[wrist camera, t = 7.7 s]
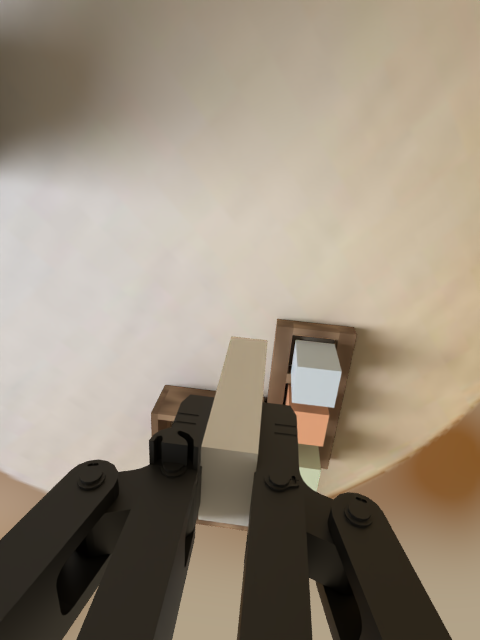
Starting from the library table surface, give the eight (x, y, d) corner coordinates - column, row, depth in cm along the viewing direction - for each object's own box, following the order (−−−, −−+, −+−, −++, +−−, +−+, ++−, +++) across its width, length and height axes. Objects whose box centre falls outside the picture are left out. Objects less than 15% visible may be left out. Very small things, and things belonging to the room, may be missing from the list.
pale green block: (278, 456, 52) (277, 493, 46) (282, 430, 50) (282, 464, 45) (311, 460, 52) (315, 498, 46) (316, 434, 50) (321, 469, 44)
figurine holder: (165, 483, 59) (153, 517, 54) (165, 385, 52) (151, 413, 46) (252, 495, 58) (249, 531, 53) (264, 397, 51) (262, 427, 46)
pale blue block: (290, 372, 46) (291, 402, 41) (295, 339, 45) (297, 366, 39) (328, 377, 46) (334, 407, 41) (334, 344, 44) (341, 371, 39)
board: (261, 449, 55) (260, 460, 53) (277, 319, 46) (276, 326, 45) (326, 458, 54) (327, 469, 52) (354, 327, 46) (356, 334, 44)
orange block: (284, 409, 50) (284, 441, 45) (288, 380, 49) (289, 410, 43) (318, 414, 50) (322, 446, 45) (324, 385, 48) (329, 415, 43)
